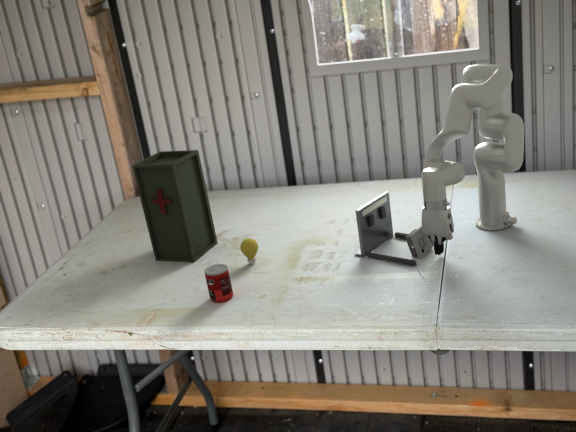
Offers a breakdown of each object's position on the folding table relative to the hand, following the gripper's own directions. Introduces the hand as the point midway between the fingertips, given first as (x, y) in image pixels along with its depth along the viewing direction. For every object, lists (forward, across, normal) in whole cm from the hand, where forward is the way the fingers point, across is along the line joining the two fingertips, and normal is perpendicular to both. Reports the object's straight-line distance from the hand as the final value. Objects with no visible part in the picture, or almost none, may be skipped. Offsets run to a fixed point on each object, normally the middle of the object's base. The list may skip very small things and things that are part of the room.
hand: (439, 253), depth 227 cm
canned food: (+2, +53, +55) cm, 76 cm away
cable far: (+1, +14, -10) cm, 17 cm away
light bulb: (+2, +62, +30) cm, 69 cm away
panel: (+1, +25, 0) cm, 25 cm away
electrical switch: (+2, +8, 0) cm, 8 cm away
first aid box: (+2, +97, +31) cm, 102 cm away
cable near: (+1, +14, +9) cm, 17 cm away
